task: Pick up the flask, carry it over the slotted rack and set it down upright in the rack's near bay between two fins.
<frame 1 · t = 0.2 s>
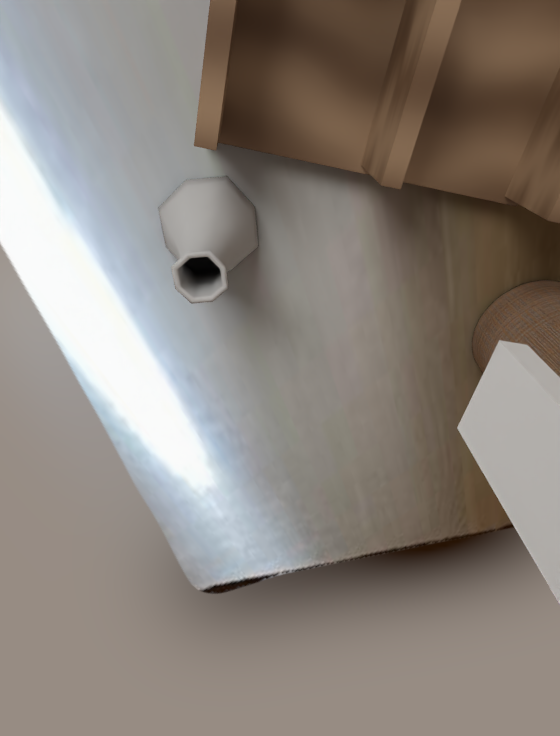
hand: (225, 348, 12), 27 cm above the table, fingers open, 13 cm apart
vase: (526, 331, 44), on the table
rack: (389, 73, 33), on the table
flask: (210, 225, 38), on the table
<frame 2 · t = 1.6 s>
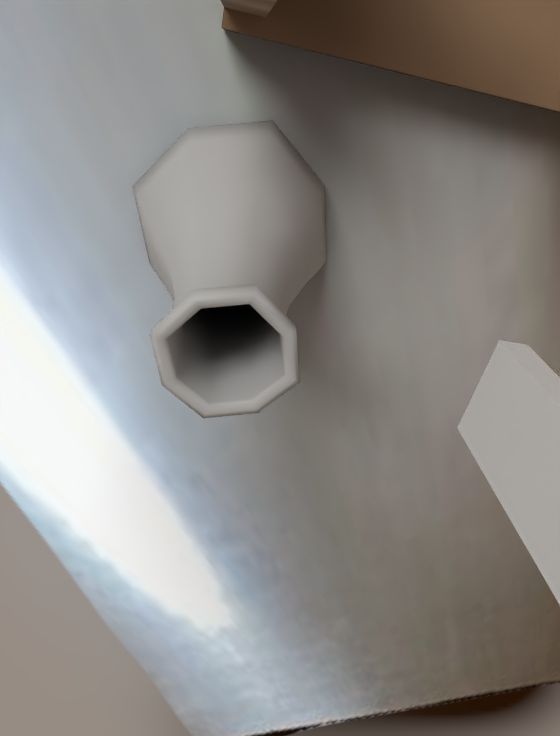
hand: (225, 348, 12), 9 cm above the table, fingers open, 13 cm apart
flask: (234, 221, 19), on the table
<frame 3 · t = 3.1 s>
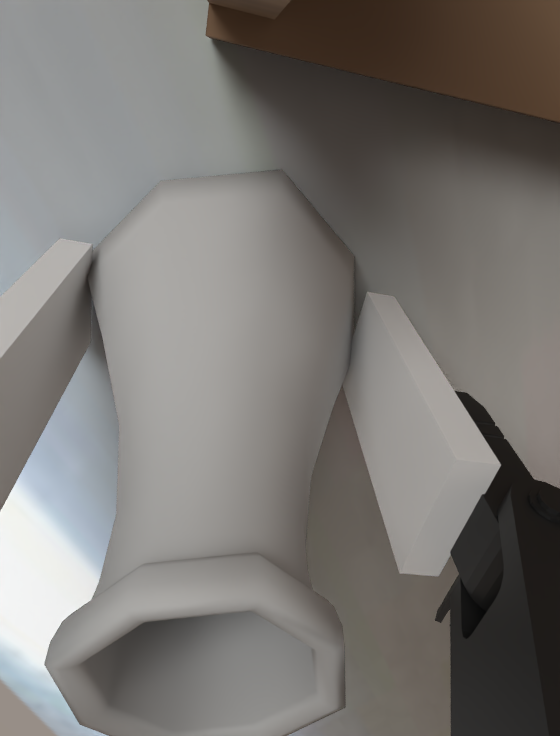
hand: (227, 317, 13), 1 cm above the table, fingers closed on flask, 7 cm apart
flask: (228, 301, 14), on the table, touching gripper
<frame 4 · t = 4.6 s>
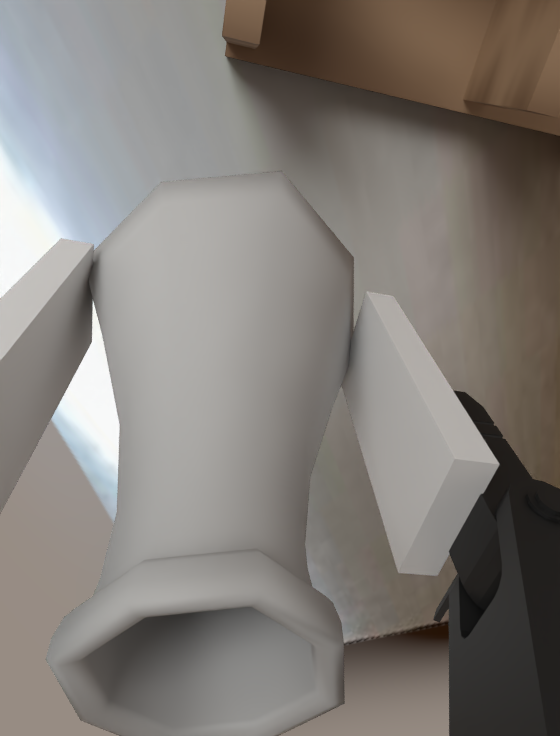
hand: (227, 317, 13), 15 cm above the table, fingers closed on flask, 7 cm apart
flask: (228, 302, 14), point 14 cm above the table, touching gripper
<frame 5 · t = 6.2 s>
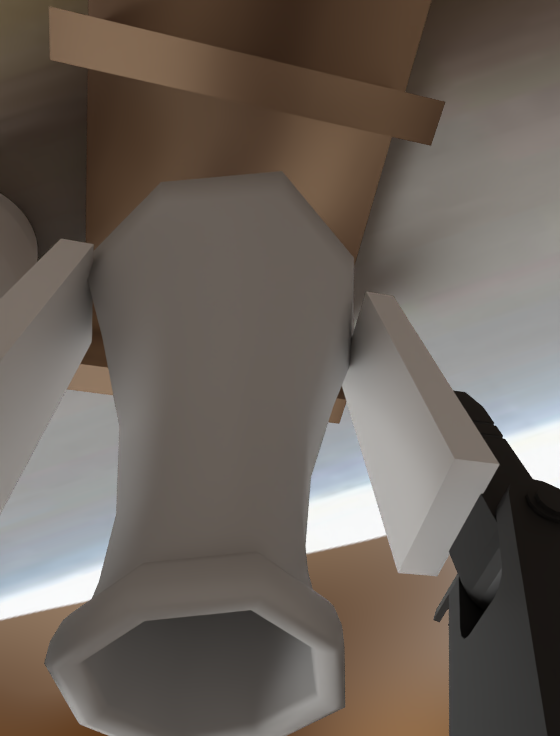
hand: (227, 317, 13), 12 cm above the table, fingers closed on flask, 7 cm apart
rack: (250, 74, 21), on the table
flask: (228, 302, 14), point 11 cm above the table, touching gripper
when the fingers open (3 cm above the table, at t = 8.3 s): flask drops 1 cm, resting on rack.
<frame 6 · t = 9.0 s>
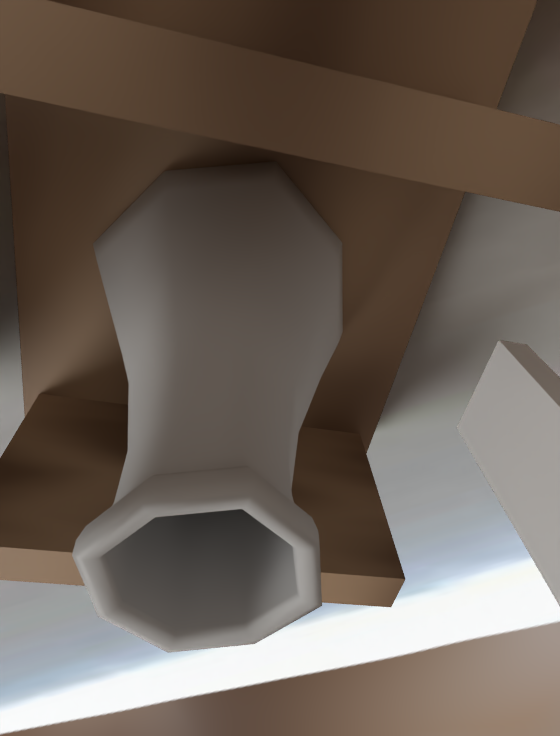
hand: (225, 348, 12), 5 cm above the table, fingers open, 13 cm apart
rack: (259, 83, 14), on the table
flask: (226, 284, 15), point 1 cm above the table, touching rack
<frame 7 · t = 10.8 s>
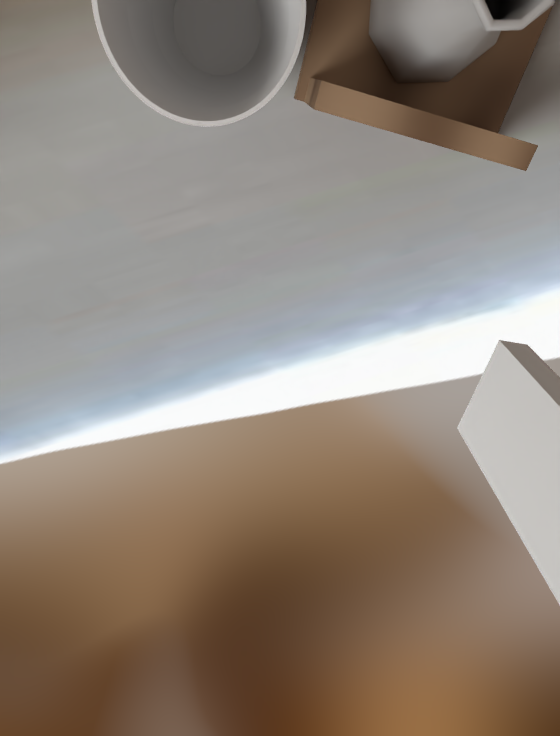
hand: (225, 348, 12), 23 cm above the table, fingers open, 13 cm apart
cup: (218, 26, 28), on the table
flask: (433, 7, 27), point 1 cm above the table, touching rack
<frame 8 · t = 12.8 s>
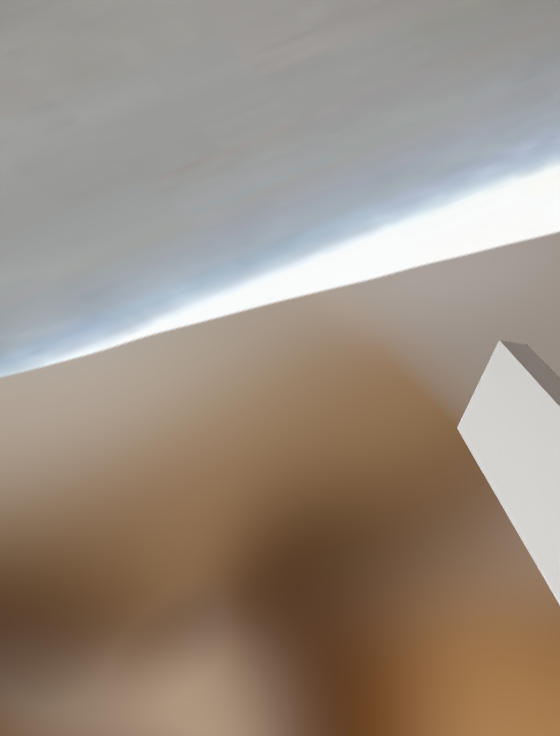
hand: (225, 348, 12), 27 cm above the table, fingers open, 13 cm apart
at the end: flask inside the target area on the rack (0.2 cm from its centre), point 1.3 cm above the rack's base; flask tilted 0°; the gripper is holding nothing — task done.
